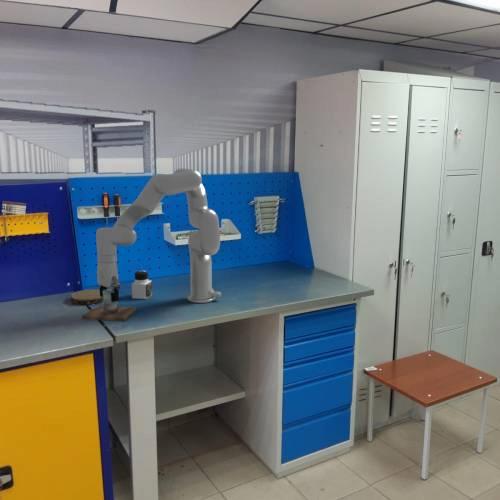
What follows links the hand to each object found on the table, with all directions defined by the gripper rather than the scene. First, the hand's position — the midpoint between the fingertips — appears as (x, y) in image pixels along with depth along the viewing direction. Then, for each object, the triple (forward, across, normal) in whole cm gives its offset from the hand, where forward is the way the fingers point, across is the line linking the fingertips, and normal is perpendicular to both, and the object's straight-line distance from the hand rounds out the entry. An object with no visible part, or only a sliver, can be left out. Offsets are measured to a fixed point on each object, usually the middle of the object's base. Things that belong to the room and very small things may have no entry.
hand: (109, 298), depth 212 cm
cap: (+2, 0, 0) cm, 2 cm away
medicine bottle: (+7, -13, +23) cm, 27 cm away
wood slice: (+7, -25, +3) cm, 26 cm away
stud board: (+7, 0, 0) cm, 7 cm away
